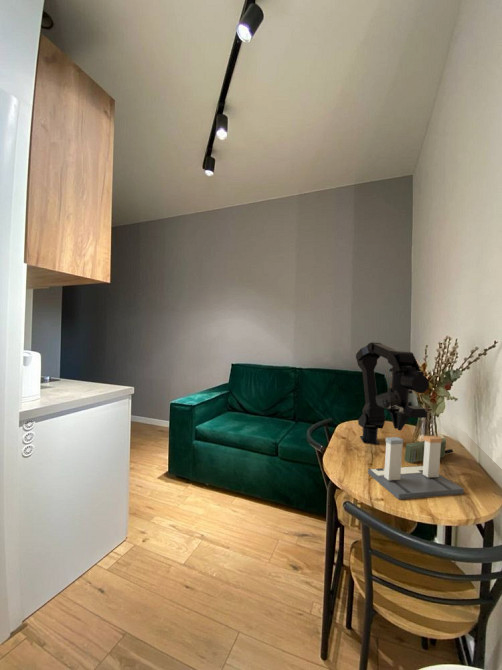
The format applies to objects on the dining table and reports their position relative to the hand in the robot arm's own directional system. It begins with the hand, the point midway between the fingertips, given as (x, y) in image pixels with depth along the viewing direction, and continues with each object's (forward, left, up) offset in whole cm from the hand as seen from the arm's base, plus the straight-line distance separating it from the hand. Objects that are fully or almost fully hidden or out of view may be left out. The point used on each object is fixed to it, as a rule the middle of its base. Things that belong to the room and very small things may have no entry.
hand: (397, 429), depth 97 cm
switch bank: (+14, +1, -12) cm, 18 cm away
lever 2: (+11, +6, -10) cm, 16 cm away
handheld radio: (-8, +15, -12) cm, 21 cm away
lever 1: (+16, -7, -10) cm, 20 cm away
